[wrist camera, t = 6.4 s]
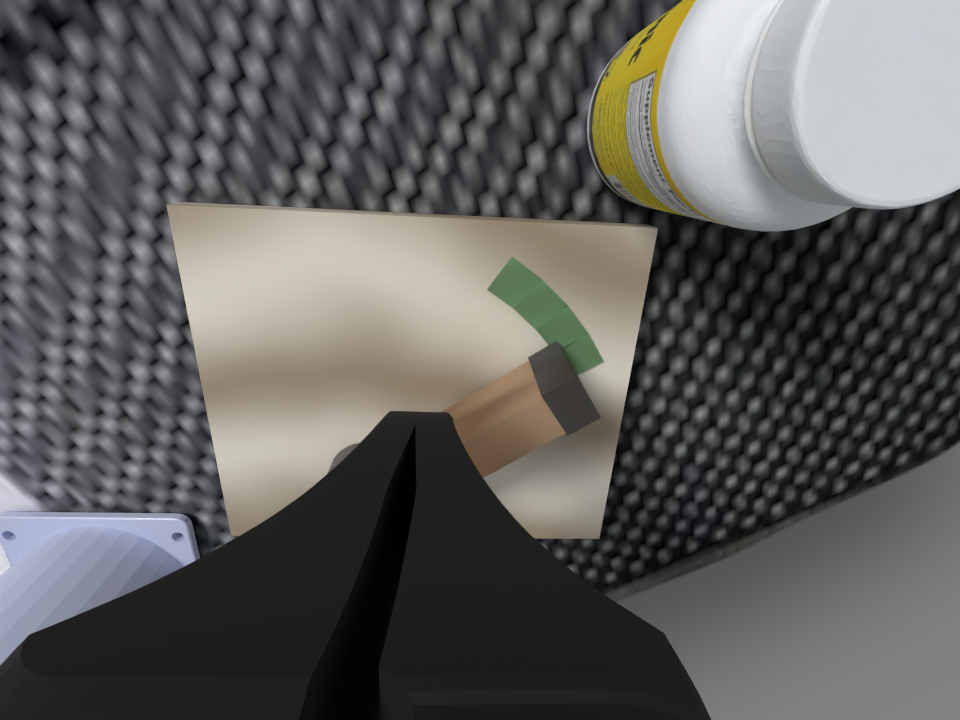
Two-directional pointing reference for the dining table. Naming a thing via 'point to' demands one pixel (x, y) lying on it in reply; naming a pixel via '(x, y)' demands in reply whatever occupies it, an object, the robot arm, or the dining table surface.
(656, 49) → the supplement bottle
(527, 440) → the pointer lever
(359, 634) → the robot arm
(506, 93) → the dining table surface
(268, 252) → the dial board
